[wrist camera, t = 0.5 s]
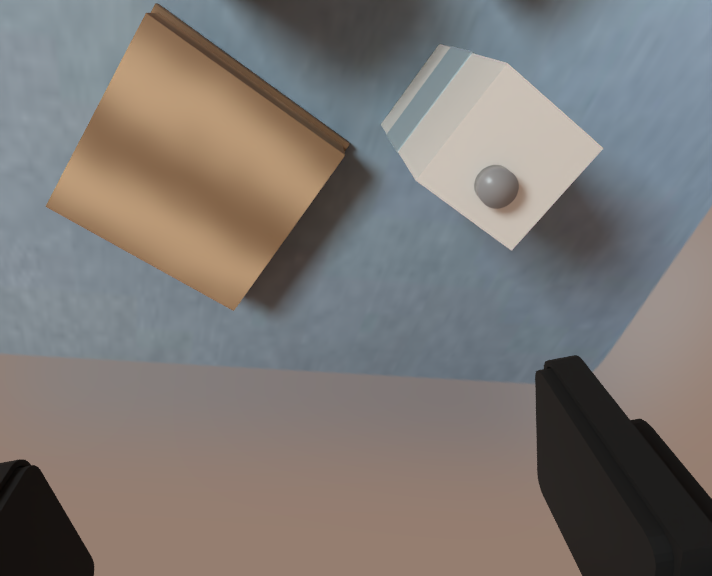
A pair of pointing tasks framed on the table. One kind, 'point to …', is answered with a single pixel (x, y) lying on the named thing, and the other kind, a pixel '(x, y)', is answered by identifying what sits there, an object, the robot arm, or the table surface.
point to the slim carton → (487, 142)
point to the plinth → (195, 162)
